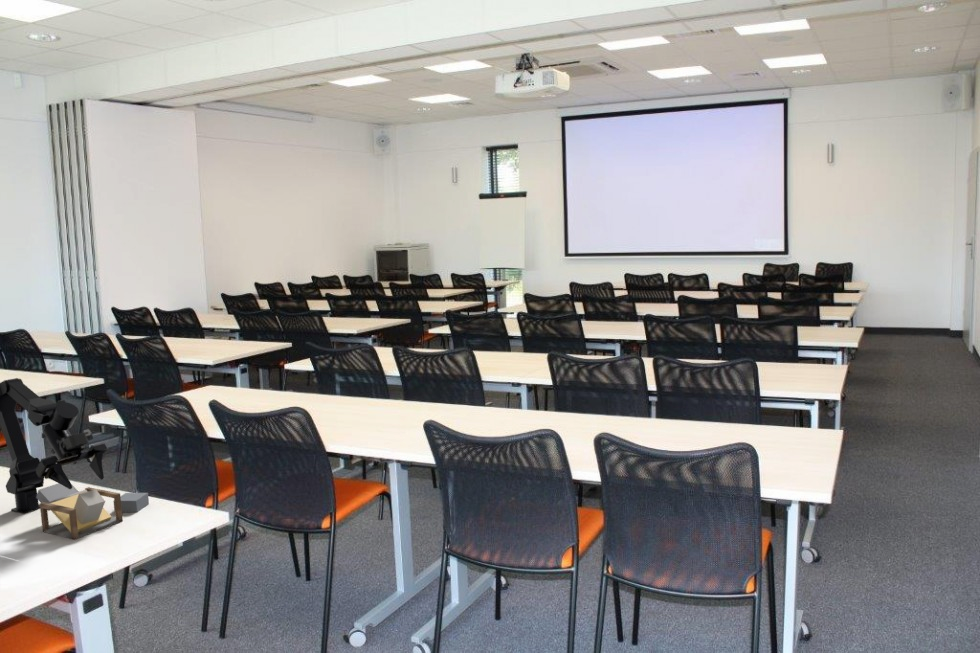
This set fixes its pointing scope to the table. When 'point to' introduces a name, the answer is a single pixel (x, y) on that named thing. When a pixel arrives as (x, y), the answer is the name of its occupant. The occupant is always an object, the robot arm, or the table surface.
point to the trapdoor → (67, 504)
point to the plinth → (133, 502)
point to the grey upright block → (89, 506)
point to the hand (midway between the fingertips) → (87, 483)
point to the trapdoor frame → (74, 533)
